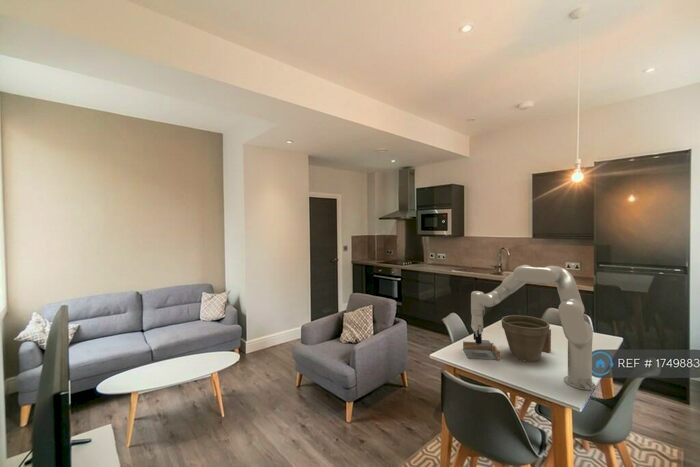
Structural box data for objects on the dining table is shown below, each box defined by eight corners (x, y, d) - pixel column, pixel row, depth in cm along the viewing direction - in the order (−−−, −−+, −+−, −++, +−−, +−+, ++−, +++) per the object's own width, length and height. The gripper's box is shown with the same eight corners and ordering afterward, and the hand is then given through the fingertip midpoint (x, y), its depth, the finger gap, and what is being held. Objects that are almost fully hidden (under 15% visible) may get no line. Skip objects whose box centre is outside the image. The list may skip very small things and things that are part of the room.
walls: (500, 360, 177) (500, 351, 177) (467, 358, 180) (467, 350, 180) (493, 350, 191) (493, 342, 191) (463, 349, 194) (463, 341, 194)
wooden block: (548, 353, 187) (548, 324, 186) (530, 347, 195) (530, 319, 195) (551, 351, 189) (551, 323, 188) (532, 346, 198) (532, 318, 197)
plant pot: (510, 364, 171) (510, 326, 171) (495, 347, 196) (495, 314, 195) (558, 367, 168) (558, 328, 167) (537, 349, 192) (537, 315, 192)
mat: (500, 360, 177) (500, 359, 177) (467, 358, 180) (467, 357, 180) (493, 350, 191) (493, 349, 191) (463, 349, 194) (463, 348, 194)
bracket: (476, 345, 182) (477, 332, 182) (475, 342, 187) (475, 329, 187) (491, 346, 181) (491, 333, 181) (488, 343, 186) (488, 330, 186)
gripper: (468, 307, 193) (468, 336, 194) (474, 315, 177) (474, 346, 177) (480, 308, 192) (480, 336, 192) (488, 316, 175) (488, 347, 176)
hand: (477, 341), depth 185 cm, fingers closed on bracket, 5 cm apart
